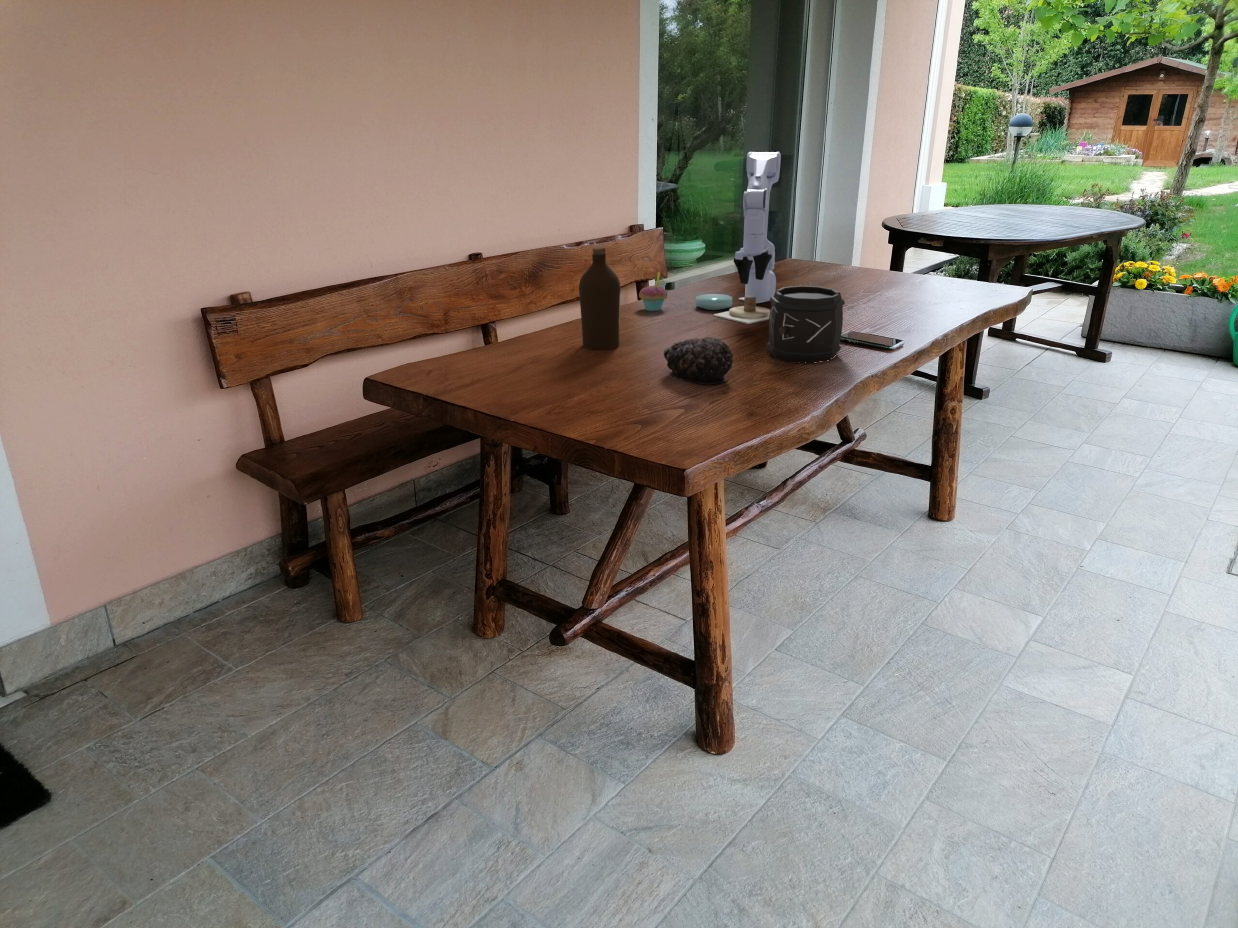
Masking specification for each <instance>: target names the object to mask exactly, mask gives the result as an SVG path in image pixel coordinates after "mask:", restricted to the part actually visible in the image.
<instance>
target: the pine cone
mask: <svg viewBox="0 0 1238 928" xmlns="http://www.w3.org/2000/svg"><path fill="white" fill-rule="evenodd" d="M663 356H664V358H665V360H666V361H667V362H666V366H667V368H668V369H669V370H670V371H669V375H670V376H671V377H672V378H674V379H678V380H681V381H686V382H691V383H693V384H694V383H695V384H699V385H710V386H711V385H715V384H717V385H718V384H721V383H725V382H728V378H726V377H725V376H726V375H727V373H728V372H729V371H730V370H731V369H732V367H733V360H734V358H733V356H734V355H733V352H732V351H731V349H730V347H729V346H728V344H727V343H726V342H725V341H722V340H721V339H720V338H715V337H711V336H706V337H703V338H701V337H700V338H695V337H694V338H690V339H685V340H683V341H677V342H674V343H673V345H671V346H670V347H667V348H666V349H665V350H663Z"/></svg>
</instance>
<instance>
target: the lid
mask: <svg viewBox="0 0 1238 928" xmlns="http://www.w3.org/2000/svg"><path fill="white" fill-rule="evenodd" d="M728 311H729V314H730V315H731V316H733V317H738V318H747V319H755V318H764V317H768V316H769V315H770V310H769V308H768V307H762V306H757V303H756V296H745V295H744V301H743V305H742V306H734V307H730V308H729V310H728Z"/></svg>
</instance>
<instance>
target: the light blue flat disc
mask: <svg viewBox="0 0 1238 928" xmlns="http://www.w3.org/2000/svg"><path fill="white" fill-rule="evenodd" d="M695 306H696V307H697V308H700V309H704V310H707V311H720V310H725V309H730V308H732V307H733V297H732V296H731V295H727V294H722V293H721V294H719V293H704V294H700V295H697V296H696V297H695Z"/></svg>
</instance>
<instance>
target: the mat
mask: <svg viewBox="0 0 1238 928" xmlns="http://www.w3.org/2000/svg"><path fill="white" fill-rule="evenodd" d="M768 309H769V308H768ZM770 309H771V308H770ZM770 309H769V310H770ZM712 316H713V317H716V318H721V319H725V320H729V321H734V322H737V323H743V324H746V325H750V324H755V323H756V324H757V323H759V322H764V321H769V316H768V317H764V318H755V319H747V318H738V317H733V316H731V315H730V314H729V310H727V311H723V312H719V313H713V314H712Z"/></svg>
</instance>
